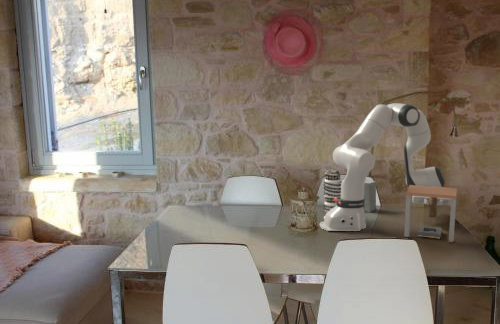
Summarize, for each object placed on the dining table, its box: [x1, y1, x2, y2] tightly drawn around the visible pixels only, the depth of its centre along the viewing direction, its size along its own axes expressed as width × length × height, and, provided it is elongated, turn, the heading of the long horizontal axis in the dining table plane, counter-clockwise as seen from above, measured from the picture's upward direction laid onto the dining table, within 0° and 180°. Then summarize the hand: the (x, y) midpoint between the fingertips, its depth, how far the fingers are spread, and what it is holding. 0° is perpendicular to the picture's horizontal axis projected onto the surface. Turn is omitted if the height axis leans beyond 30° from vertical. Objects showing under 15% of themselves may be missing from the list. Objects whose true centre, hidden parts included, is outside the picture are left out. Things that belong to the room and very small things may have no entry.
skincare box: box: [364, 180, 377, 213], centre depth 289 cm, size 8×7×16 cm
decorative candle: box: [323, 168, 342, 219], centre depth 274 cm, size 9×9×25 cm
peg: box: [428, 197, 438, 218], centre depth 257 cm, size 4×4×12 cm
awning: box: [403, 185, 458, 241], centre depth 244 cm, size 15×21×22 cm
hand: (432, 203), depth 256 cm, fingers closed on peg, 3 cm apart
